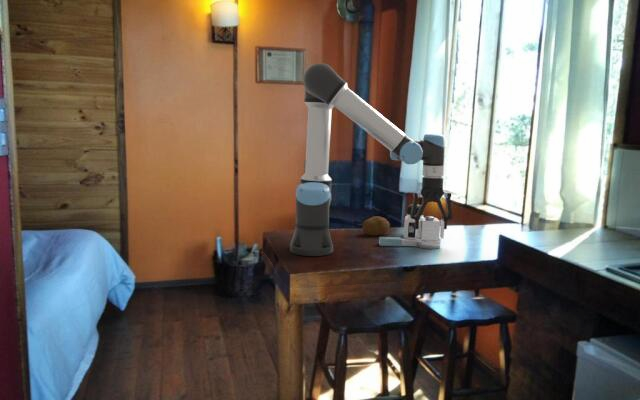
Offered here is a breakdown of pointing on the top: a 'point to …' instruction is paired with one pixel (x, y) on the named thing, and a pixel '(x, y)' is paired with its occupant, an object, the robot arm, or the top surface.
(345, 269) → the top surface
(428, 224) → the cube with chrome knob
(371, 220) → the potato
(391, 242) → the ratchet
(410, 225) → the container
